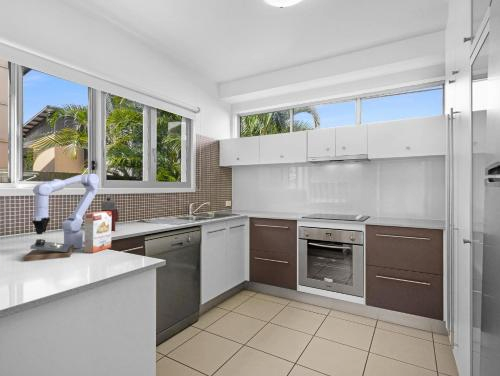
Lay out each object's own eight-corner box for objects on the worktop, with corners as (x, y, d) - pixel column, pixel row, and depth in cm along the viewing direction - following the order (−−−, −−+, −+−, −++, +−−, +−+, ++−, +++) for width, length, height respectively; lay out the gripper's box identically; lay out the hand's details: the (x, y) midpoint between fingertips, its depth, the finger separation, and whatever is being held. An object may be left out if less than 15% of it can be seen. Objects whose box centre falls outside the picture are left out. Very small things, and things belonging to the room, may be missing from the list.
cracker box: (93, 253, 143) (93, 213, 143) (83, 252, 145) (83, 213, 144) (112, 247, 157) (112, 211, 157) (102, 247, 158) (103, 210, 158)
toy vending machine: (118, 231, 211) (118, 194, 211) (102, 232, 205) (102, 195, 205) (117, 229, 219) (117, 194, 219) (101, 230, 213) (101, 194, 213)
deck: (70, 246, 148) (72, 240, 148) (67, 252, 136) (68, 245, 137) (37, 243, 141) (38, 237, 142) (30, 248, 130) (31, 241, 130)
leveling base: (73, 250, 150) (73, 244, 150) (69, 257, 136) (69, 250, 136) (32, 253, 142) (32, 247, 142) (23, 261, 128) (23, 254, 128)
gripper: (35, 206, 148) (35, 231, 148) (28, 208, 135) (27, 235, 135) (51, 206, 151) (51, 230, 151) (45, 208, 138) (45, 235, 138)
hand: (41, 233), depth 143 cm, fingers open, 7 cm apart
